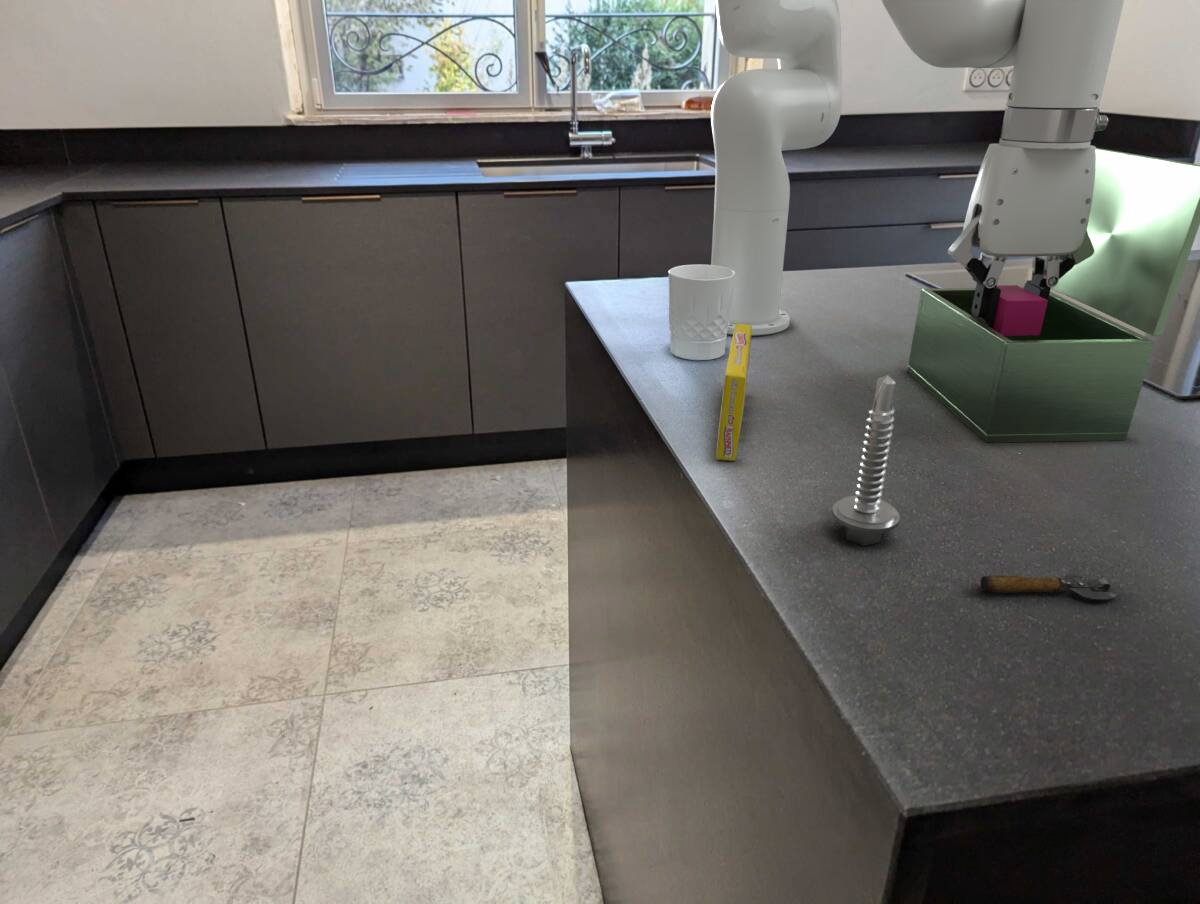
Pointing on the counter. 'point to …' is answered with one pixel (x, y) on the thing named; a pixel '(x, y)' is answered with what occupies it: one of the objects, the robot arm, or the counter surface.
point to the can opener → (1047, 585)
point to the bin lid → (1137, 238)
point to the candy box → (734, 393)
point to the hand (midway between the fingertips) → (1005, 321)
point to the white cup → (700, 310)
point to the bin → (1029, 370)
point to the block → (1019, 312)
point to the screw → (872, 476)
